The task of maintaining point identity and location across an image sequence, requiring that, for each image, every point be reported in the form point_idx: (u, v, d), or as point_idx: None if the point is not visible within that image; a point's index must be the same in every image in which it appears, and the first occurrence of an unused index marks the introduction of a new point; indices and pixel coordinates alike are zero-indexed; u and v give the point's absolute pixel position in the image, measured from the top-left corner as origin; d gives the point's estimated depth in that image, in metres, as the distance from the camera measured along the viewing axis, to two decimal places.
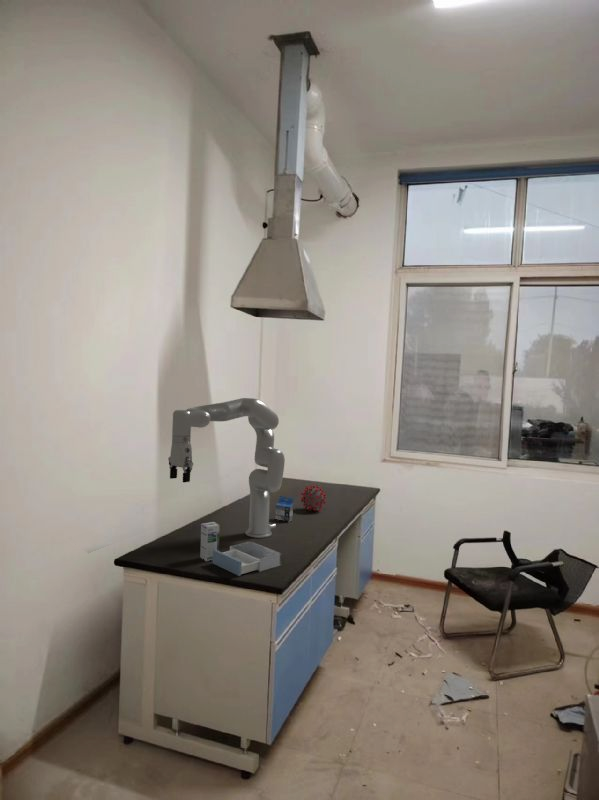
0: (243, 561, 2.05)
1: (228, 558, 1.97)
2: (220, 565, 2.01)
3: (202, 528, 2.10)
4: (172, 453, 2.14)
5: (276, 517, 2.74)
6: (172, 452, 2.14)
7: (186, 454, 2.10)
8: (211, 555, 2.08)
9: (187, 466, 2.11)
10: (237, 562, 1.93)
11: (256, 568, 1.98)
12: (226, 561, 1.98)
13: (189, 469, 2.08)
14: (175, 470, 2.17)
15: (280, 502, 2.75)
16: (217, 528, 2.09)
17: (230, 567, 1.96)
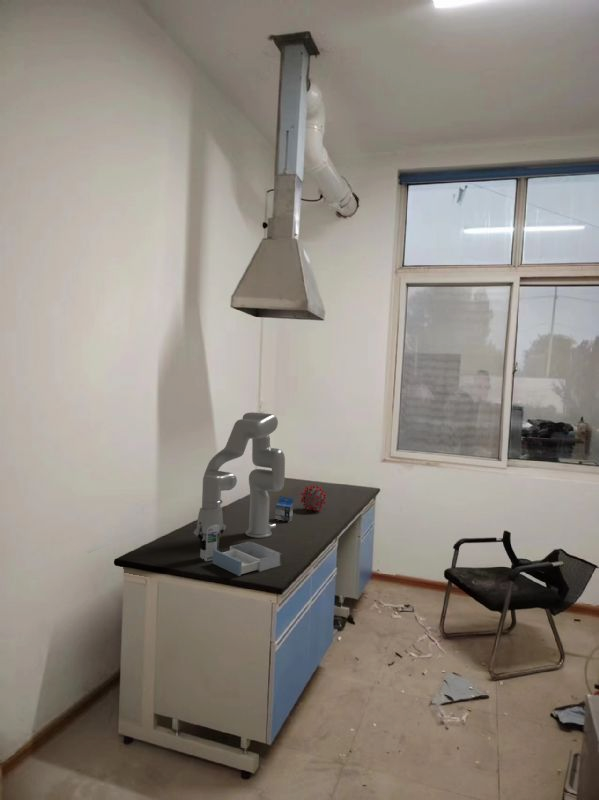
0: (243, 561, 2.05)
1: (228, 558, 1.97)
2: (220, 565, 2.01)
3: None
4: (208, 521, 2.06)
5: (276, 517, 2.74)
6: (208, 520, 2.06)
7: None
8: (211, 555, 2.08)
9: None
10: (237, 562, 1.93)
11: (256, 568, 1.98)
12: (226, 561, 1.98)
13: None
14: None
15: (280, 502, 2.75)
16: (217, 528, 2.09)
17: (230, 567, 1.96)
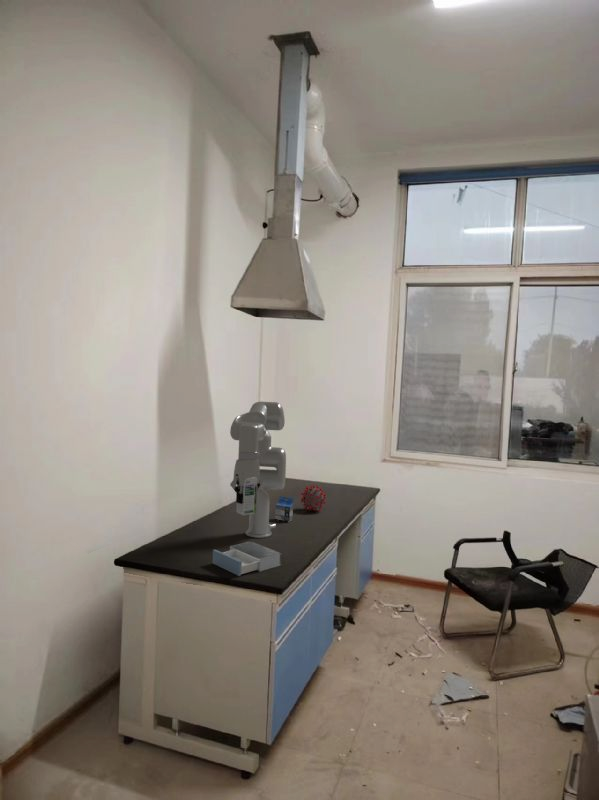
0: (243, 561, 2.05)
1: (228, 558, 1.97)
2: (220, 565, 2.01)
3: None
4: (246, 473, 1.95)
5: (276, 517, 2.74)
6: (246, 471, 1.95)
7: None
8: (248, 509, 1.96)
9: None
10: (237, 562, 1.93)
11: (256, 568, 1.98)
12: (226, 561, 1.98)
13: None
14: None
15: (280, 502, 2.75)
16: (254, 481, 1.98)
17: (230, 567, 1.96)
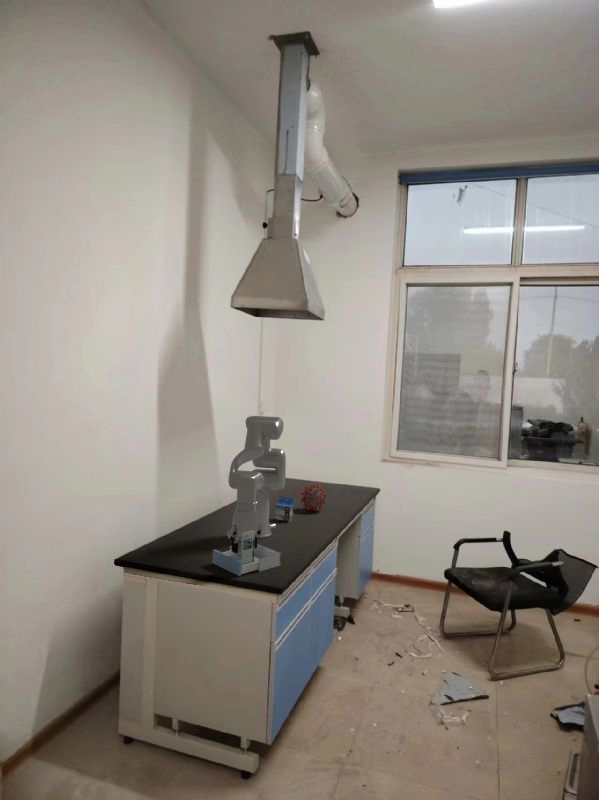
0: None
1: (228, 558, 1.97)
2: (220, 565, 2.01)
3: None
4: (244, 524, 1.96)
5: (276, 517, 2.74)
6: (244, 523, 1.96)
7: None
8: (247, 563, 1.97)
9: None
10: (237, 562, 1.93)
11: (256, 568, 1.98)
12: (226, 561, 1.98)
13: (259, 532, 2.04)
14: None
15: (280, 502, 2.75)
16: (252, 534, 1.98)
17: (231, 567, 1.96)
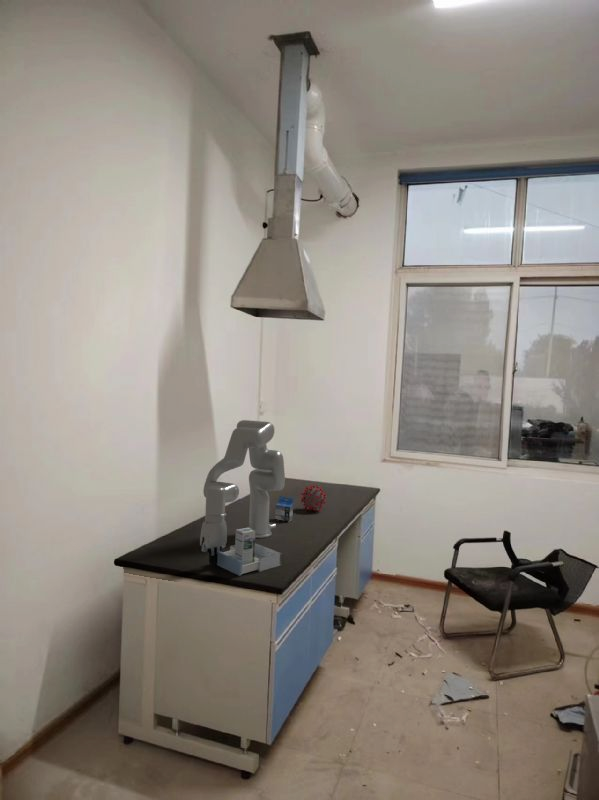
0: None
1: (228, 558, 1.97)
2: (220, 565, 2.01)
3: (237, 534, 1.99)
4: (212, 535, 1.96)
5: (276, 517, 2.74)
6: (212, 534, 1.96)
7: None
8: (247, 563, 1.97)
9: None
10: (237, 562, 1.93)
11: (256, 568, 1.98)
12: (226, 561, 1.98)
13: None
14: None
15: (280, 502, 2.75)
16: (253, 534, 1.99)
17: (231, 566, 1.96)
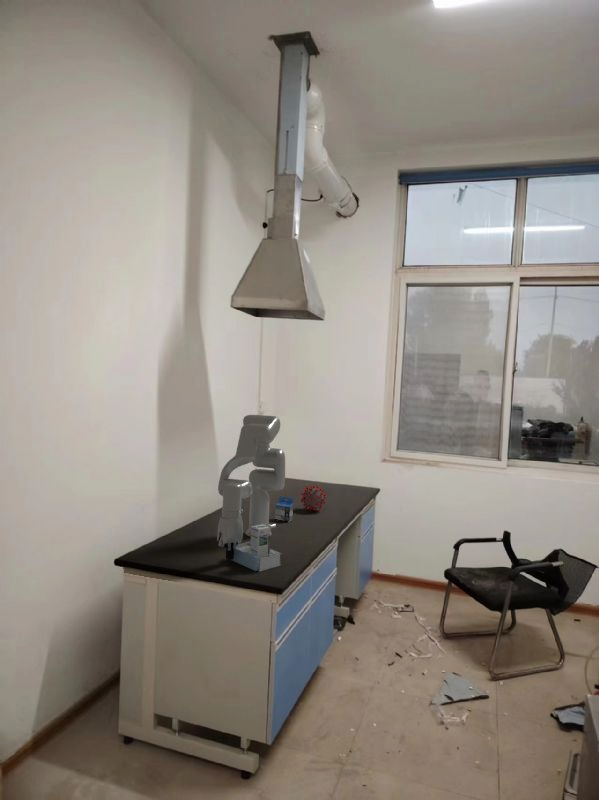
0: None
1: (244, 554, 2.03)
2: (236, 561, 2.06)
3: (252, 531, 2.05)
4: (229, 531, 2.02)
5: (276, 517, 2.74)
6: (229, 529, 2.02)
7: None
8: None
9: (233, 541, 2.07)
10: (253, 557, 1.99)
11: None
12: (242, 557, 2.04)
13: None
14: None
15: (280, 502, 2.75)
16: (268, 531, 2.04)
17: (247, 562, 2.02)
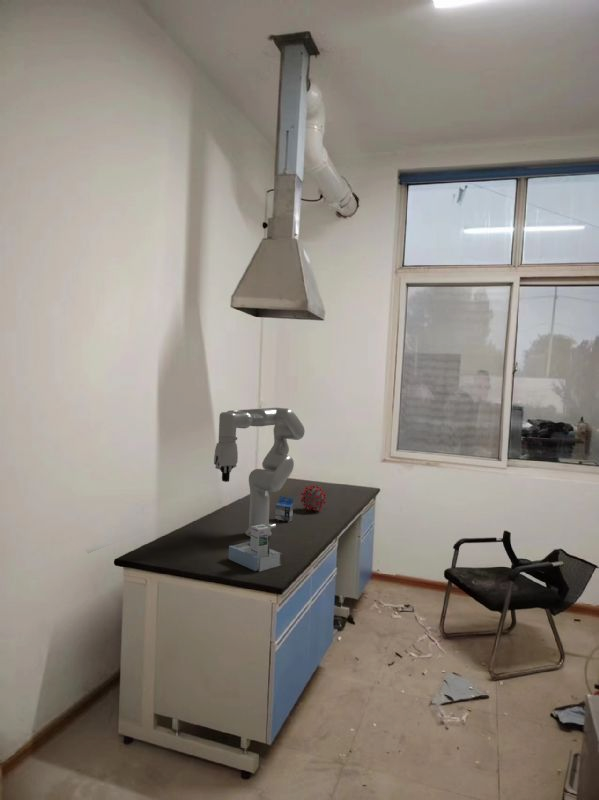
0: None
1: (244, 554, 2.03)
2: (236, 561, 2.06)
3: (252, 531, 2.04)
4: (225, 454, 2.22)
5: (276, 517, 2.74)
6: (225, 453, 2.22)
7: None
8: None
9: (228, 466, 2.28)
10: (253, 558, 1.99)
11: None
12: (242, 557, 2.04)
13: None
14: None
15: (280, 502, 2.75)
16: (268, 531, 2.04)
17: (247, 562, 2.01)
